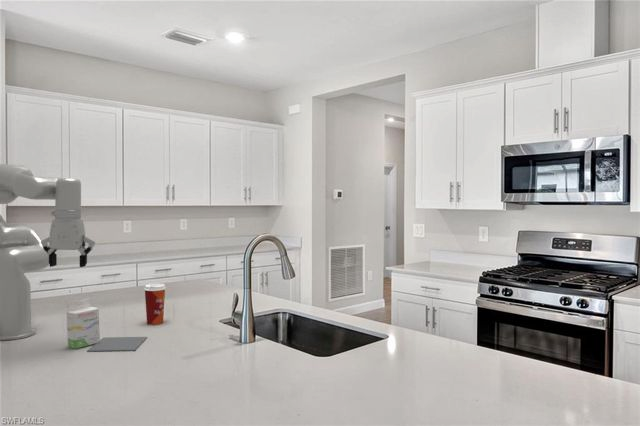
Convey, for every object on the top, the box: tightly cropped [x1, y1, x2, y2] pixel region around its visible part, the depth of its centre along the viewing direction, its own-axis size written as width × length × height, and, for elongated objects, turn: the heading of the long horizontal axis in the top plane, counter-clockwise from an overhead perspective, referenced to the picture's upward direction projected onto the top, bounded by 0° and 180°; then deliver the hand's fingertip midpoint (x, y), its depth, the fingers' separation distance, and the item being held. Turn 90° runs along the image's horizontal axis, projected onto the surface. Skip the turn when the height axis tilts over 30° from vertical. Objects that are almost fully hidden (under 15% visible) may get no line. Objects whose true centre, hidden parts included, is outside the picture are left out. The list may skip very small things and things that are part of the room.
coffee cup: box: [143, 283, 167, 326], centre depth 183 cm, size 8×8×15 cm
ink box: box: [66, 297, 101, 350], centre depth 154 cm, size 9×5×15 cm, turn 143°
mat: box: [86, 336, 148, 353], centre depth 155 cm, size 15×14×1 cm
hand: (67, 266), depth 155 cm, fingers open, 9 cm apart
